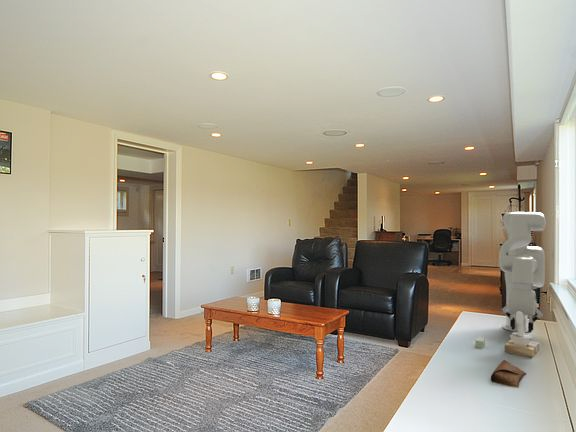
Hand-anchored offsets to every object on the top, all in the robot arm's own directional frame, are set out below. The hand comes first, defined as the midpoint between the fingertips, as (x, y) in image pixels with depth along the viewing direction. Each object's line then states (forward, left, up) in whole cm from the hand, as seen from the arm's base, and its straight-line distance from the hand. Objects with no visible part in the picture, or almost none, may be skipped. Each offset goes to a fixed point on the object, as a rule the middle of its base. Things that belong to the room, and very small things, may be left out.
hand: (521, 330), depth 167 cm
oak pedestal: (0, 0, -9) cm, 9 cm away
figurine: (0, 0, -6) cm, 6 cm away
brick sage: (+4, -15, -9) cm, 18 cm away
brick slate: (-8, +2, -9) cm, 13 cm away
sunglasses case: (+36, +3, -10) cm, 38 cm away
